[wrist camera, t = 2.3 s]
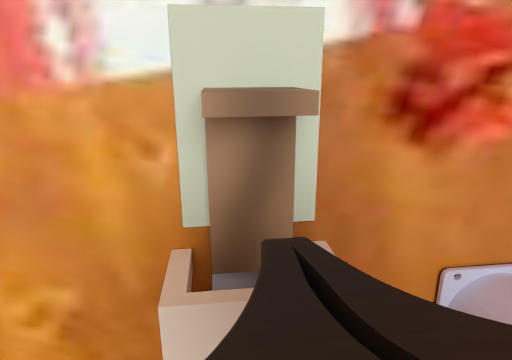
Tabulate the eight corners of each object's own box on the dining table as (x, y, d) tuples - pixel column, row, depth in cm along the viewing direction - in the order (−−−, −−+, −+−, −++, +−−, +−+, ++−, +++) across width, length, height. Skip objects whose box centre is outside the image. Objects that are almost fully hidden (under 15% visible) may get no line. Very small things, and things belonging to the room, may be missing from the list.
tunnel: (325, 240, 22) (360, 291, 17) (319, 332, 24) (349, 403, 19) (171, 249, 21) (158, 307, 16) (179, 344, 23) (169, 424, 18)
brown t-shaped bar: (292, 86, 19) (319, 90, 14) (286, 344, 24) (304, 410, 19) (204, 87, 19) (201, 91, 14) (216, 350, 23) (216, 420, 19)
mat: (323, 7, 18) (324, 7, 18) (313, 219, 22) (314, 220, 22) (168, 5, 18) (167, 4, 17) (183, 226, 21) (183, 227, 21)
